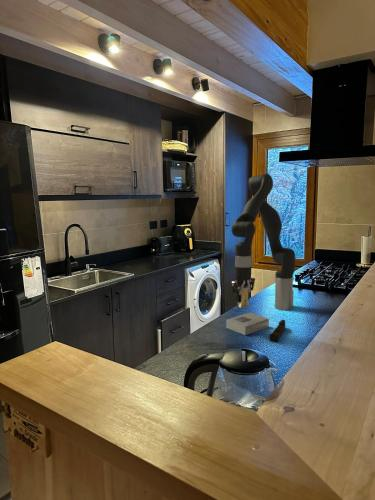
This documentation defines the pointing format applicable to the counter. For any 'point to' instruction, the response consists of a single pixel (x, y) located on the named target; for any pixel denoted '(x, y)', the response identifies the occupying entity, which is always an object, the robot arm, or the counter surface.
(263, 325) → the block
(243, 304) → the bushing
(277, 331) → the hand tool
